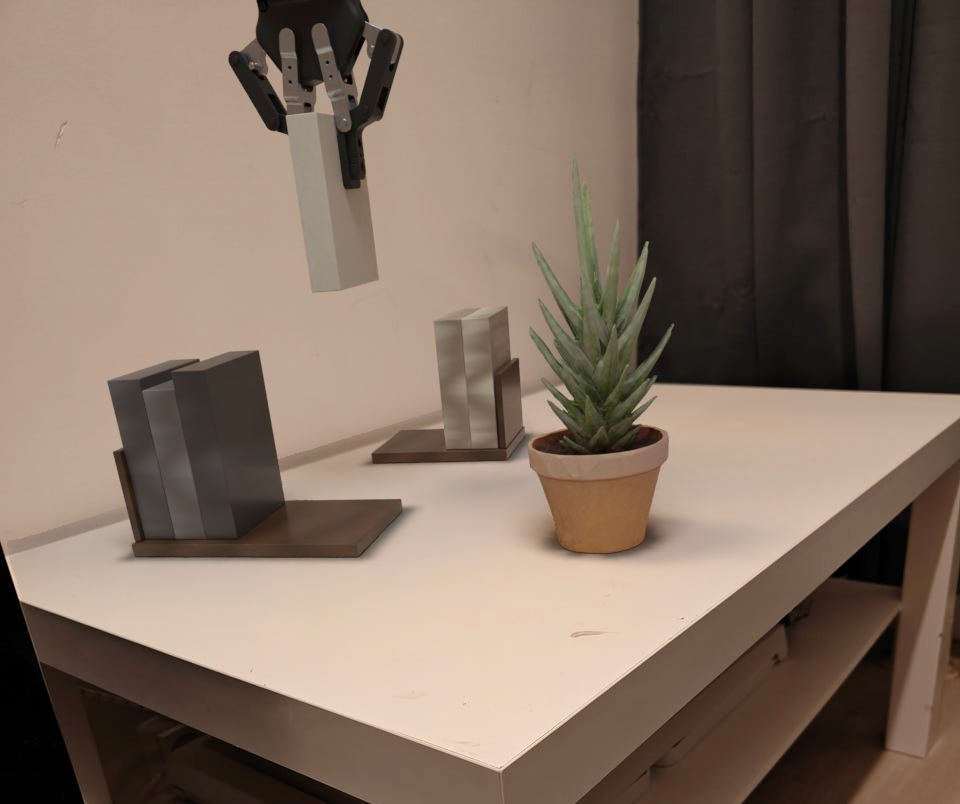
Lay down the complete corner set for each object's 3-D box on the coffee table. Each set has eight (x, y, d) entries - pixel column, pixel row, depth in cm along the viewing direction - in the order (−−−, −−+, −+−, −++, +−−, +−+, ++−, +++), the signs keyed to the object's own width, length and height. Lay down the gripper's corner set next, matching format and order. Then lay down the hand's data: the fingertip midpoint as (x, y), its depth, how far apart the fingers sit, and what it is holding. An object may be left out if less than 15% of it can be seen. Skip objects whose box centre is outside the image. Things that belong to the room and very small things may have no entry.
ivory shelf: (372, 463, 92) (354, 325, 87) (401, 439, 101) (387, 312, 96) (506, 460, 89) (497, 317, 84) (525, 435, 98) (517, 304, 92)
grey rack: (134, 556, 71) (89, 377, 66) (202, 512, 81) (169, 353, 75) (358, 557, 67) (331, 365, 62) (402, 510, 77) (382, 341, 71)
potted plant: (565, 514, 72) (550, 157, 62) (685, 523, 68) (690, 142, 58) (507, 557, 65) (480, 157, 54) (639, 571, 60) (636, 140, 50)
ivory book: (311, 292, 72) (285, 115, 67) (352, 281, 80) (331, 122, 75) (340, 290, 71) (316, 111, 66) (379, 279, 79) (359, 119, 74)
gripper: (407, -86, 67) (432, 182, 74) (232, -55, 70) (273, 198, 78) (372, -115, 60) (404, 182, 68) (181, -79, 64) (231, 199, 71)
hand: (333, 189), depth 73 cm, fingers closed on ivory book, 2 cm apart
